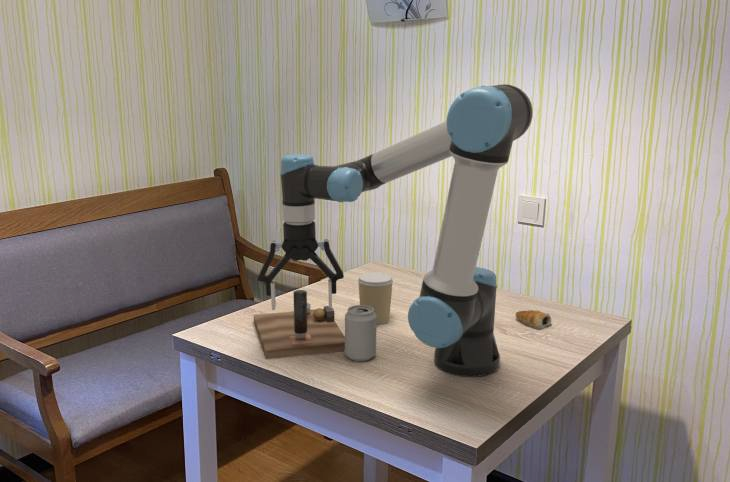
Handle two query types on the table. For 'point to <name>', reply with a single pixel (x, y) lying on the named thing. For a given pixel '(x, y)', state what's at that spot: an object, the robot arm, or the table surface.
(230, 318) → the table surface
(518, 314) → the pastry
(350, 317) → the can
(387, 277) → the coffee cup
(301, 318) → the lever
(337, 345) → the nutcracker board
